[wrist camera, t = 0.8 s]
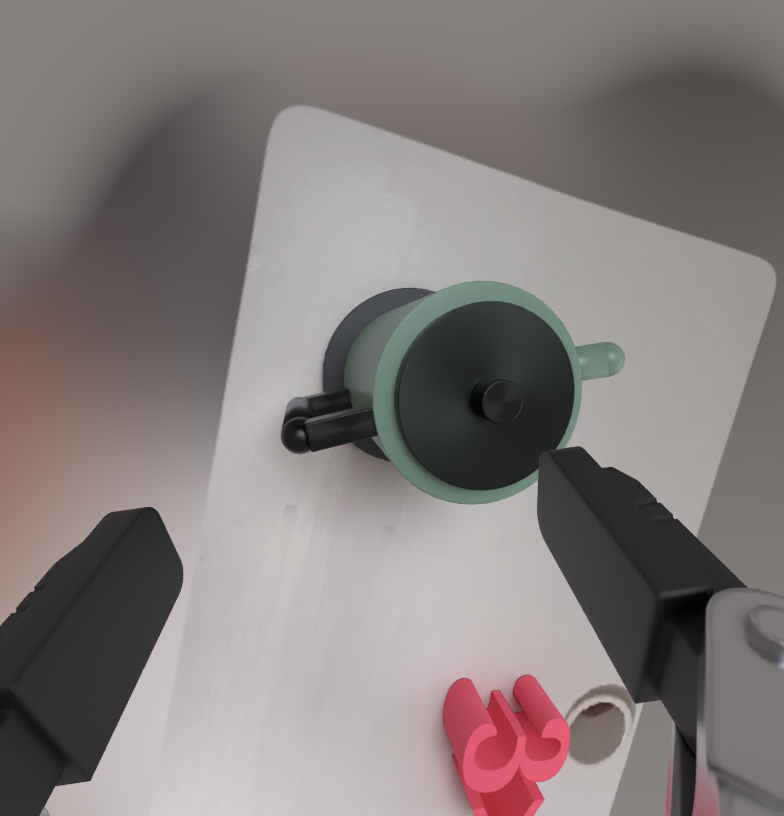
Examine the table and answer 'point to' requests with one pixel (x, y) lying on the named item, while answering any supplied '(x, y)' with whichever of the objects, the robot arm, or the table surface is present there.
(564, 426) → the kettle
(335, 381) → the kettle base
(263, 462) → the table surface
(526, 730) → the pink curled block
